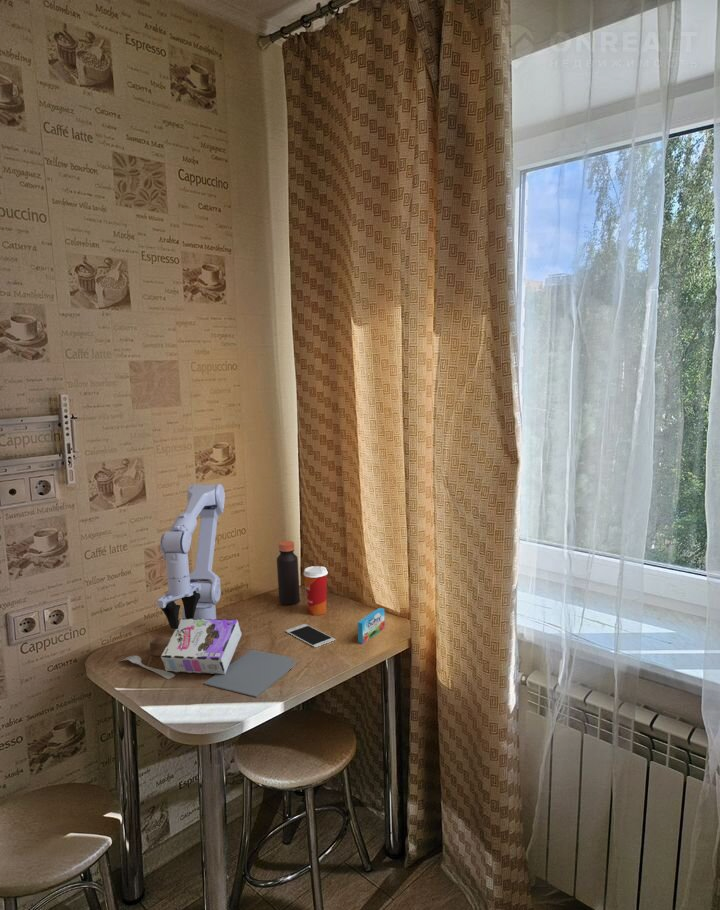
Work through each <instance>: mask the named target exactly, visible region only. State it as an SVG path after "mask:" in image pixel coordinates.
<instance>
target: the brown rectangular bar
mask: <svg viewBox="0 0 720 910" xmlns="http://www.w3.org/2000/svg"><path fill="white" fill-rule="evenodd" d="M170 639H171V637H166V636H156V637H155V638H153V640H151V641H150V642H149V649H150V656H156V657H157V656H158V657H159V656H160V657H161V655H162V654H163V652H164V650H165V648H166V646H167V644H168V643H169V641H170Z"/></svg>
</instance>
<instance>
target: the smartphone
mask: <svg viewBox="0 0 720 910" xmlns="http://www.w3.org/2000/svg"><path fill="white" fill-rule="evenodd" d="M285 631H286V632H287V633H286V632H285ZM285 631H284V632H285V633H286V634H288V633H289V634H288V635H290V634H291V635H290V636H292V635H293V636H294V638H295V637H296V638H295V639H297V638H298V640H299V639H300V640H299V641H301V640H302V641H304V642H306V643H308V644H310V645H312V646H314V647H318V646H321V645H323V644H326V643H329V642H331V641H334V640H336V638H334V637H333V636H330V635H329V634H326V633H325V632H322V631H321V630H318V629H317V628H315V627H312V626H311V625H309V624H307V623H303V624H300V625H297V626H295V627H294V626H293V627H291V628H287V629H285ZM293 636H292V637H293ZM302 641H301V642H302ZM304 642H303V643H304ZM306 643H305V644H306ZM308 644H307V645H308ZM329 644H330V643H329ZM310 645H309V646H310Z"/></svg>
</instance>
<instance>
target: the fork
mask: <svg viewBox="0 0 720 910" xmlns="http://www.w3.org/2000/svg"><path fill="white" fill-rule="evenodd" d="M123 661H129V662H131V663H132V664H136V665H139V666H140V667H142V668H144V669H146V670H150V671H151V672H154V673H155V674H157V675H159V676H161V677H163V678H165V679H167V680H170V679H172V678H174V677H175V676H176V674H174V672H167V671H166V670H163V669H158V668H154V667H150V666H147V665H146V664H143V663H142V658H141V657H140V656H139V655H130V656H127V657H125V659H124V658H123V660H122V659H120V660H119V662H123Z"/></svg>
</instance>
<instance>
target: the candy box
mask: <svg viewBox="0 0 720 910" xmlns="http://www.w3.org/2000/svg"><path fill="white" fill-rule="evenodd" d="M242 634H243V633H242V630H241V627H240V624H239V621H238V619H223V618H221V619H219V618H216V619H182V618H180V619H179V627H178V629H174V631H173V633H172V635H171V637H170V638H171V639H170V641H169V643H168V644H167V646H166V648H165V650H164V652H163V654H162V655H161V656H160V659H161V661H162V664H163V667H164V669H165V670H164V671H167V672H171V673H181V674H182V673H184V674H185V673H186V674H188V673H189V674H206V675H207V674H208V675H209V674H211V675H216V674H226V671H227V669H228V666H229V665H230V664H231V661H232V660H233V659H232V658H233V657H234V654H235V652H236V650H237V647H238V644H239V642H240V640H241V638H242Z"/></svg>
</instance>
